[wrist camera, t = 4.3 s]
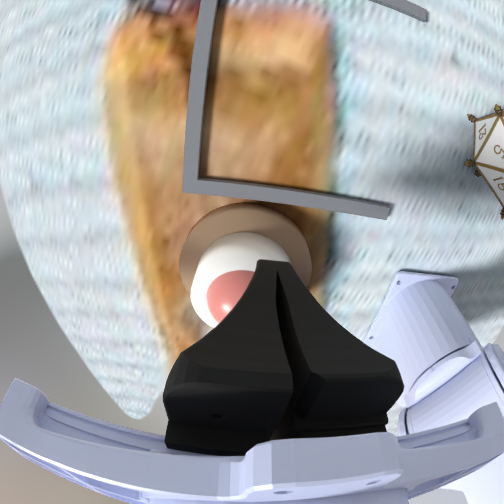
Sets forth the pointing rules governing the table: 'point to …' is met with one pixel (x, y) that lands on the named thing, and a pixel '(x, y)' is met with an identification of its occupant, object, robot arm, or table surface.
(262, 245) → the dome
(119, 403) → the table surface
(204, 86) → the frame
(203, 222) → the dome base
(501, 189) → the game die
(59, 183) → the table surface
